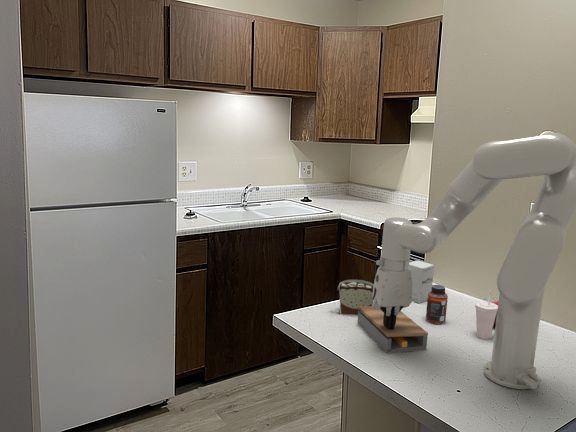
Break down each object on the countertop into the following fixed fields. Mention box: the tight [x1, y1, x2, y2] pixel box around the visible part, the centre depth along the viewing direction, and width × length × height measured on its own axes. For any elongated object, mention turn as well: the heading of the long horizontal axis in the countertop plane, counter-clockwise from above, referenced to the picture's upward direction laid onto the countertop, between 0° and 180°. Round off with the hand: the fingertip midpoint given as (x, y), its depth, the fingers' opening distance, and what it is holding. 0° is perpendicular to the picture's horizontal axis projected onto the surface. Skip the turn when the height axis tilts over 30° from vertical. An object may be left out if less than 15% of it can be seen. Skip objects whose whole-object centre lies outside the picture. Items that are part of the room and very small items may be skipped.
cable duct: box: [357, 311, 428, 354], centre depth 149 cm, size 20×12×4 cm, turn 15°
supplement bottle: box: [425, 284, 449, 325], centre depth 160 cm, size 6×6×11 cm
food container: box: [337, 279, 374, 317], centre depth 165 cm, size 12×6×10 cm, turn 84°
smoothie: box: [474, 290, 498, 340], centre depth 149 cm, size 6×6×14 cm
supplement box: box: [409, 259, 435, 304], centre depth 178 cm, size 7×7×13 cm
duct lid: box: [358, 306, 429, 337], centre depth 148 cm, size 20×12×1 cm, turn 15°
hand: (388, 327), depth 142 cm, fingers closed
